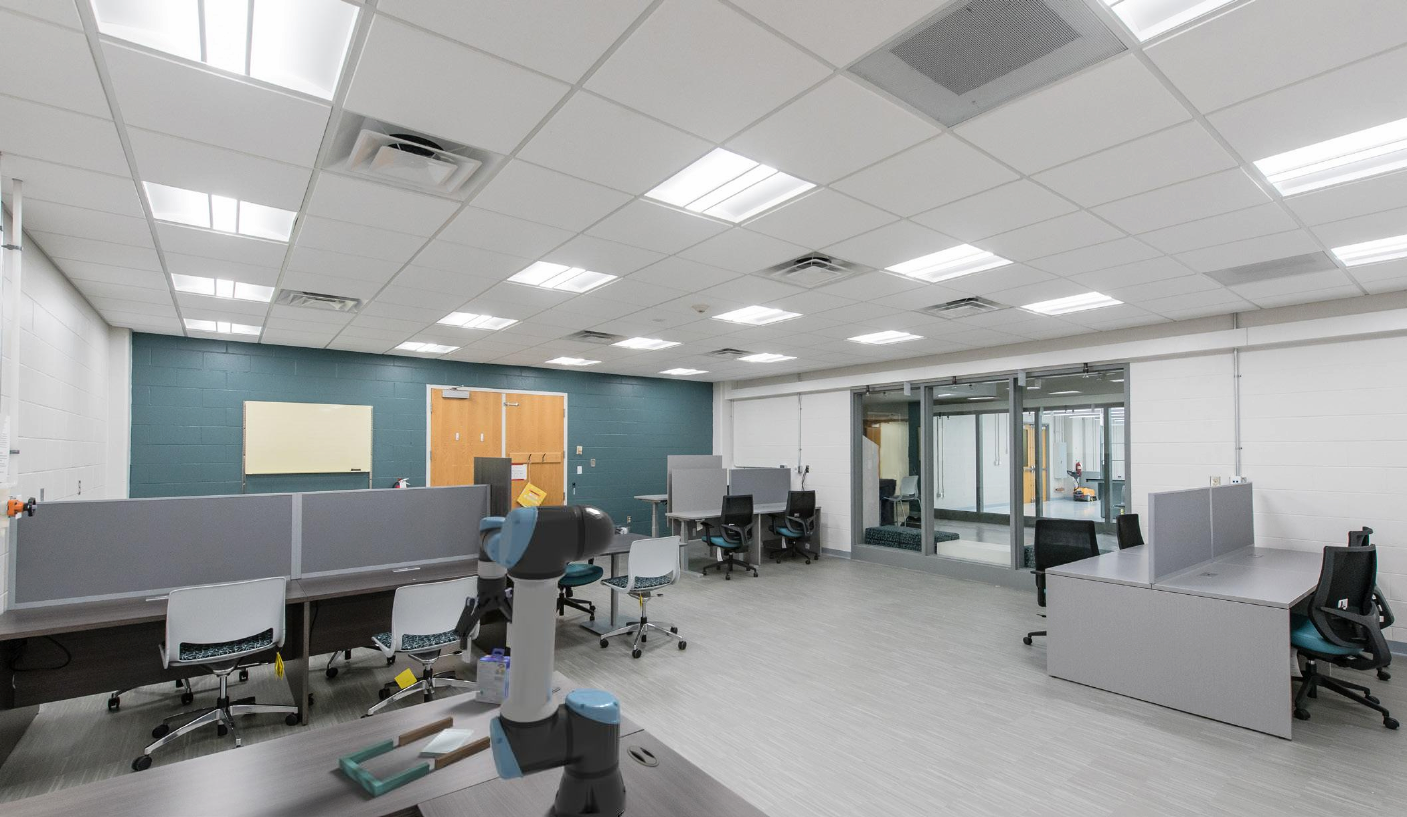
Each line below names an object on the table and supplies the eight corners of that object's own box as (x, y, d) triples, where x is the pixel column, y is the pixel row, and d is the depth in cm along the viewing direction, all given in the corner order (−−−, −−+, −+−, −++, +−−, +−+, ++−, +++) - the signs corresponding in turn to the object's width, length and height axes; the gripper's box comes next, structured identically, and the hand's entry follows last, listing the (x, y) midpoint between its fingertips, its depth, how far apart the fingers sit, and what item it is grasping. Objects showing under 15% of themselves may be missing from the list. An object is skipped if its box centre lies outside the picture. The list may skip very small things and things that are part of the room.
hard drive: (452, 753, 149) (474, 729, 161) (419, 751, 149) (444, 727, 162) (451, 760, 149) (474, 735, 161) (419, 758, 149) (443, 734, 162)
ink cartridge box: (514, 697, 184) (516, 648, 184) (505, 705, 178) (507, 655, 179) (485, 694, 186) (486, 646, 186) (474, 702, 180) (476, 652, 181)
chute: (490, 746, 154) (490, 737, 154) (375, 797, 132) (376, 786, 132) (450, 724, 166) (450, 716, 166) (338, 767, 144) (339, 758, 144)
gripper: (521, 564, 177) (519, 638, 177) (441, 581, 157) (437, 664, 157) (538, 569, 172) (535, 644, 172) (457, 586, 153) (453, 672, 152)
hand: (488, 654), depth 164 cm, fingers open, 13 cm apart
